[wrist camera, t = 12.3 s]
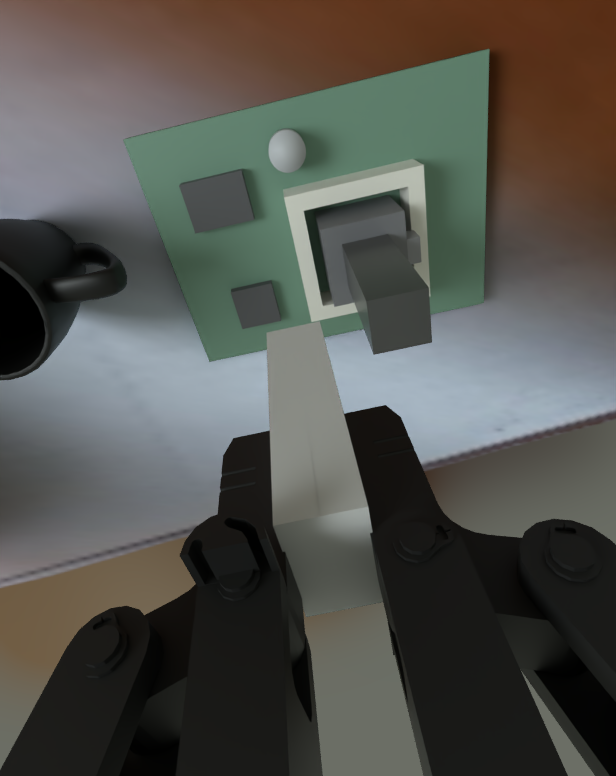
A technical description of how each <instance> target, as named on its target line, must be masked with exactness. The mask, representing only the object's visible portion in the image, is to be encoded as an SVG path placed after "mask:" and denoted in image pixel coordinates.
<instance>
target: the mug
mask: <svg viewBox="0 0 616 776" xmlns="http://www.w3.org/2000/svg"><path fill="white" fill-rule="evenodd" d="M91 264H95V265H100V266H103V267H105V268H106V269H104V270H101V271H98V272H94V273H89V274H85V273H86V268H85V265H91ZM126 284H127V275H126V271H125V268H124V267H123V265H122V263H121V261H120V260H119V259H118V258H117V257H116V256H115V255H113V254H112V253H111V252H109V251H108V250H106V249H105V248H103V247H102V246H100V245H98V244H94V243H80V244H76V243H75V242H74V241H73V240H72V238H71V237H70V236H68V235H67V234H66V233H65V232H64V231H62V230H61V229H59V228H57V227H56V226H54V225H52V224H49V223H46V222H44V221H38V220H20V219H0V380H11V379H15V378H19V377H22V376H25V375H27V374H29V373H31V372H33V371H34V370H36V369H38V368H39V367H40V366H41V365H42V364H43V363H44V362H45V361H46V360H47V359H48V357H49V356H50V355H51V354H52V352H53V351H54V350H55V349H56V348H57V346H58V345H59V344H60V343H61V341H62V340H63V339H64V337H65V336H66V335H67V333H68V331H69V329H70V327H71V325H72V323H73V321H74V319H75V317H76V315H77V312H78V309H79V307H80V302H81V301H87V300H94V299H99V298H104V297H108V296H112V295H114V294H117V293H118V292H120V291H121V290H123V289H124V288H125V286H126Z"/></svg>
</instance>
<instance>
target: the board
mask: <svg viewBox="0 0 616 776" xmlns="http://www.w3.org/2000/svg"><path fill="white" fill-rule="evenodd" d="M488 85H489V49H486V50H480V51H476V52H472V53H468V54H464V55H460V56H456V57H452V58H448V59H444V60H440V61H436V62H432V63H428V64H424V65H420V66H416V67H412V68H408V69H404V70H400V71H396V72H392V73H388V74H384V75H380V76H376V77H372V78H368V79H364V80H360V81H356V82H351V83H347V84H343V85H339V86H335V87H331V88H327V89H323V90H319V91H315V92H311V93H307V94H303V95H299V96H295V97H291V98H287V99H283V100H279V101H275V102H271V103H267V104H263V105H259V106H255V107H251V108H247V109H243V110H239V111H235V112H231V113H227V114H223V115H219V116H215V117H210V118H206V119H202V120H198V121H194V122H190V123H186V124H182V125H178V126H174V127H170V128H166V129H162V130H158V131H154V132H150V133H146V134H142V135H138V136H134V137H130V138H127V139H124V140H123V141H124V143H125V146H126V148H127V151H128V154H129V156H130V159H131V161H132V164H133V166H134V169H135V172H136V174H137V177H138V179H139V182H140V184H141V187H142V190H143V192H144V195H145V197H146V200H147V202H148V205H149V207H150V210H151V213H152V215H153V218H154V220H155V223H156V225H157V228H158V231H159V233H160V236H161V238H162V241H163V243H164V246H165V249H166V251H167V254H168V256H169V259H170V261H171V264H172V267H173V269H174V272H175V274H176V277H177V279H178V282H179V285H180V287H181V290H182V292H183V295H184V297H185V300H186V303H187V305H188V308H189V310H190V313H191V315H192V318H193V320H194V323H195V326H196V328H197V331H198V333H199V336H200V338H201V341H202V344H203V346H204V349H205V351H206V354H207V356H208V359H209V362H211V361H215V360H220V359H225V358H229V357H234V356H239V355H243V354H248V353H253V352H257V351H262V350H267V332H272V331H277V330H281V329H286V328H291V327H295V326H300V325H305V324H309V323H314V322H319V321H320V324H321V328H322V332H323V336H324V337H327V336H332V335H337V334H341V333H346V332H351V331H355V330H360V329H364V327H363V325H362V322H361V319H360V317H359V314H358V311H357V309H356V306H355V303H350V304H346V305H341V306H336V307H334V303H333V300H332V296H331V292H330V289H329V285H328V282H327V277H326V271H325V266H324V261H323V255H322V250H321V245H320V239H319V234H318V229H317V224H316V218H315V213H314V212H316V211H320V210H324V209H328V208H333V207H337V206H341V205H346V204H350V203H354V202H359V201H363V200H367V199H372V198H376V197H380V196H385V195H389V196H390V197H391V198H392V199H393V200H394V201H395V202H396V203H397V204H398V205H399V206H400V207H401V208H402V209H403V210H404V211H405V223H406V231H411V230H414V231H415V232H416V233H417V234H418V235H419V236H420V245H421V262H420V263H416V264H411V265H412V266H413V267H414V269H415V270H416V271H417V273H418V274H419V275H420V277H421V278H422V279H423V280H424V282H425V283H426V284H427V286H428V287H429V297H430V314H435V313H439V312H444V311H449V310H453V309H458V308H463V307H467V306H472V305H477V304H481V303H484V266H485V221H486V176H487V130H488Z"/></svg>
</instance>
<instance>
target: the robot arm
mask: <svg viewBox="0 0 616 776" xmlns="http://www.w3.org/2000/svg"><path fill="white" fill-rule="evenodd" d="M267 362H268V392H269V422H270V431H266V432H261V433H257V434H252V435H247V436H242V437H237V438H233V440H232V442H231V444H230V445H229V447H228V449H227V450H226V452H225V454H224V455H223V464H222V477H221V485H220V490H221V492H220V496H219V507H218V515H215V516H212V517H210V518H208V519H207V520H206V521H204V522H203V523H201V524H200V525H199V526H197V527H196V528H195V529H194V530H193V532H192V533H191V534H190V535H189V537H188V538H187V539H186V541H185V543H184V545H183V548H182V551H181V553H180V557H181V559H182V560H183V562H184V564H185V566H186V567H187V569H188V571H189V572H190V574H191V576H192V577H193V579H194V581H195V583H196V585H194V586H193V587H192V588H191V589H190V590H189V591H188V592H186V593H185V594H183V595H181V596H180V597H178V598H177V599H175V600H173V601H171V602H169V603H167V604H165V605H163V606H161V607H159V608H158V609H156V610H154V611H152V612H150V613H148V614H146V615H143V613H142V612H141V611H140V610H139V609H135V608H132V607H129V606H123V607H116V608H111V609H108V610H107V611H105V612H103V613H101V614H99V615H97V616H95V617H94V618H92V619H91V620H90V621H89V622H88V623H87V624H86V625H84V626H83V627H82V628H81V629H80V630H79V631H78V632H77V634H76V635H75V636H74V638H73V639H72V641H71V642H70V644H69V645H68V646H67V648H66V650H65V651H64V653H63V655H62V657H61V659H60V661H59V663H58V664H57V666H56V668H55V670H54V672H53V674H52V675H51V677H50V679H49V681H48V683H47V685H46V687H45V688H44V690H43V692H42V694H41V696H40V698H39V700H38V701H37V703H36V705H35V707H34V709H33V711H32V713H31V714H30V716H29V718H28V720H27V722H26V723H25V725H24V727H23V729H22V731H21V733H20V735H19V736H18V738H17V740H16V742H15V744H14V746H13V747H12V750H11V751H10V753H9V755H8V757H7V758H6V760H5V762H4V764H3V766H2V768H1V770H0V776H323V775H322V764H321V754H320V744H319V734H318V723H317V713H316V702H315V691H314V681H313V670H312V661H311V651H310V647H309V643H308V640H307V637H306V634H305V628H304V616H303V609H304V612H305V615H306V617H309V616H314V615H319V614H324V613H330V612H335V611H340V610H345V609H350V608H355V607H360V606H365V605H371V604H376V603H381V602H383V603H384V607H385V611H386V615H387V619H388V625H389V631H390V637H391V643H392V649H393V655H395V657H396V662H397V666H398V670H399V674H400V679H401V682H402V687H403V691H404V695H405V700H406V704H407V708H408V712H409V716H410V721H411V725H412V729H413V733H414V737H415V742H416V746H417V749H418V754H419V758H420V762H421V767H422V771H423V775H424V776H568V775H567V773H566V771H565V768H564V766H563V764H562V762H561V759H560V757H559V755H558V753H557V751H556V748H555V746H554V744H553V742H552V739H551V737H550V735H549V733H548V730H547V728H546V726H545V724H544V721H543V719H542V717H541V715H540V713H539V710H538V708H537V706H536V704H535V701H534V699H533V697H532V695H531V692H530V690H529V688H528V686H527V684H526V681H525V679H524V677H523V675H522V672H523V674H524V675H525V676H526V678H527V679H528V680H529V682H530V684H531V685H532V686H533V688H534V689H535V691H536V692H537V694H538V695H539V696H540V698H541V699H542V701H543V702H544V703H545V705H546V706H547V708H548V709H549V711H550V712H551V714H552V715H553V716H554V718H555V719H556V721H557V722H558V723H559V725H560V726H561V728H562V729H563V731H564V732H565V733H566V735H567V736H568V738H569V739H570V740H571V742H572V743H573V745H574V746H575V747H576V749H577V750H578V752H579V753H580V754H581V756H582V758H583V759H584V760H585V762H586V763H587V765H588V766H589V767H590V769H591V770H592V772H593V773H594V775H595V776H616V545H615V544H614V543H613V542H612V541H611V540H610V539H608V538H607V537H605V536H604V535H602V534H601V533H599V532H598V531H596V530H595V529H593V528H592V527H589V526H586V525H583V524H581V523H578V522H575V521H571V520H559V519H551V520H547V521H542V522H539V523H536V524H535V525H533V526H532V527H531V528H529V529H528V530H527V531H525V533H524V535H523V538H517V537H506V536H495V535H486V534H481V533H475V532H472V531H470V530H467V529H464V528H462V527H461V526H459V525H458V524H456V523H454V522H453V521H451V520H450V519H449V518H448V517H447V516H446V515H445V514H444V513H443V511H442V510H441V508H440V506H439V505H438V503H437V501H436V499H435V496H434V494H433V492H432V489H431V487H430V485H429V482H428V480H427V478H426V475H425V473H424V471H423V468H422V466H421V464H420V461H419V459H418V457H417V454H416V452H415V451H414V447H413V445H412V443H411V440H410V438H409V437H408V433H407V431H406V429H405V426H404V424H403V422H402V419H401V417H399V416H398V415H397V414H396V413H395V412H393V411H392V410H391V409H390V408H388V407H387V406H386V405H384V406H379V407H374V408H370V409H365V410H360V411H355V412H350V413H346V414H344V412H343V408H342V405H341V401H340V397H339V393H338V389H337V386H336V382H335V378H334V374H333V370H332V366H331V363H330V359H329V355H328V351H327V347H326V344H325V340H324V336H323V332H322V328H321V324H320V321H319V322H314V323H309V324H305V325H300V326H295V327H291V328H286V329H281V330H277V331H272V332H267ZM520 669H521V670H520ZM521 671H522V672H521Z"/></svg>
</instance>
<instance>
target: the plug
mask: <svg viewBox="0 0 616 776" xmlns="http://www.w3.org/2000/svg"><path fill="white" fill-rule="evenodd" d="M314 213H315V218H316V224H317V229H318V234H319V239H320V245H321V250H322V255H323V261H324V266H325V271H326V277H327V282H328V285H329V289H330V292H331V296H332V300H333V303H334V307H336V306H341V305H346V304H350V303H355V306H356V309H357V311H358V314H359V317H360V319H361V322H362V325H363V327H364V330H365V333H366V335H367V338H368V341H369V343H370V346H371V349H372V351H373V354H379V353H384V352H388V351H393V350H398V349H403V348H407V347H412V346H417V345H422V344H426V343H431V342H432V335H431V316H430V297H429V287H428V286H427V284H426V283H425V282H424V280H423V279H422V278H421V277H420V275H419V274H418V273H417V271H416V270H415V269H414V267H413V266H412V265H411V264H416V263H420V262H421V245H420V236H419V235H418V234H417V233H416V232H415V231H414V230H411V231H406V223H405V211H404V210H403V209H402V208H401V207H400V206H399V205H398V204H397V203H396V202H395V201H394V200H393V199H392V198H391V197H390V196H389V195H385V196H380V197H376V198H372V199H367V200H363V201H359V202H354V203H350V204H346V205H341V206H337V207H333V208H328V209H324V210H320V211H316V212H314Z"/></svg>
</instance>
